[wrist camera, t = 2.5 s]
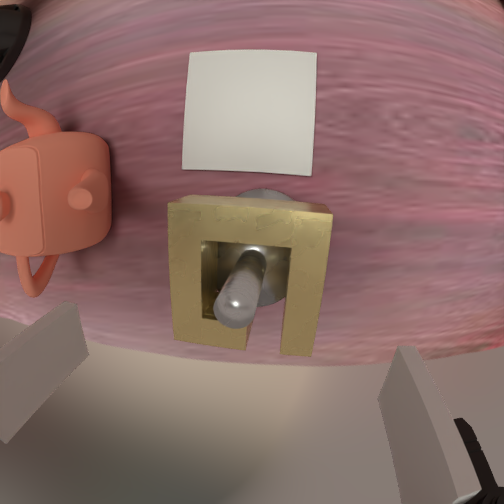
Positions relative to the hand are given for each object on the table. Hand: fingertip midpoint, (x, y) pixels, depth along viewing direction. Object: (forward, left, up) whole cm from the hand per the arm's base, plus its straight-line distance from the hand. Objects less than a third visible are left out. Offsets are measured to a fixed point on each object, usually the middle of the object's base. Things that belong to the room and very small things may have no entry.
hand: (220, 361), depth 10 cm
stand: (0, 0, -19) cm, 19 cm away
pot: (-5, -23, -19) cm, 30 cm away
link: (0, 0, -11) cm, 11 cm away
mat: (-12, -2, -19) cm, 22 cm away
